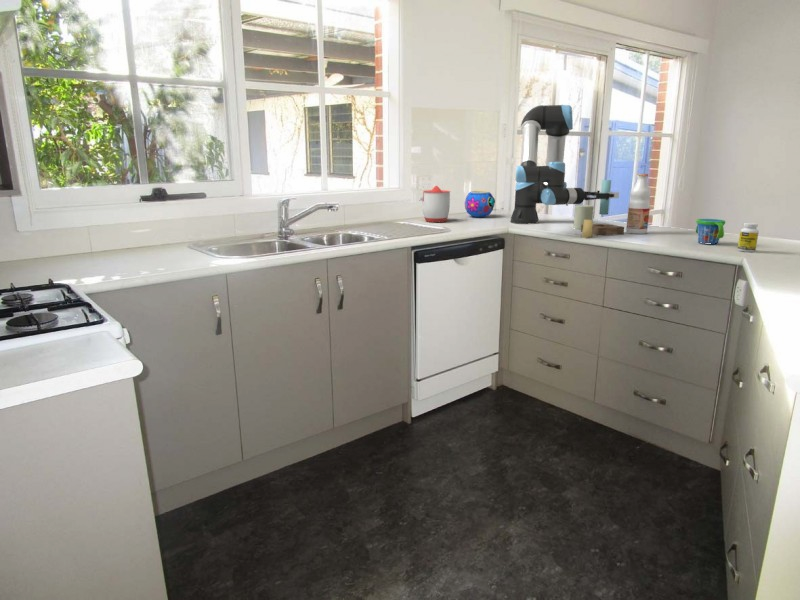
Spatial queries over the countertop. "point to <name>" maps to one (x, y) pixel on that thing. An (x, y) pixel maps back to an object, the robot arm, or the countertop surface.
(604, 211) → the tall dowel
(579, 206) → the can
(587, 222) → the short dowel
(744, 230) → the pill bottle
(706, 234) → the snack cup
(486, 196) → the ceramic pot
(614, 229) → the walnut block
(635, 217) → the fruit juice
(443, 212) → the citrus juicer
